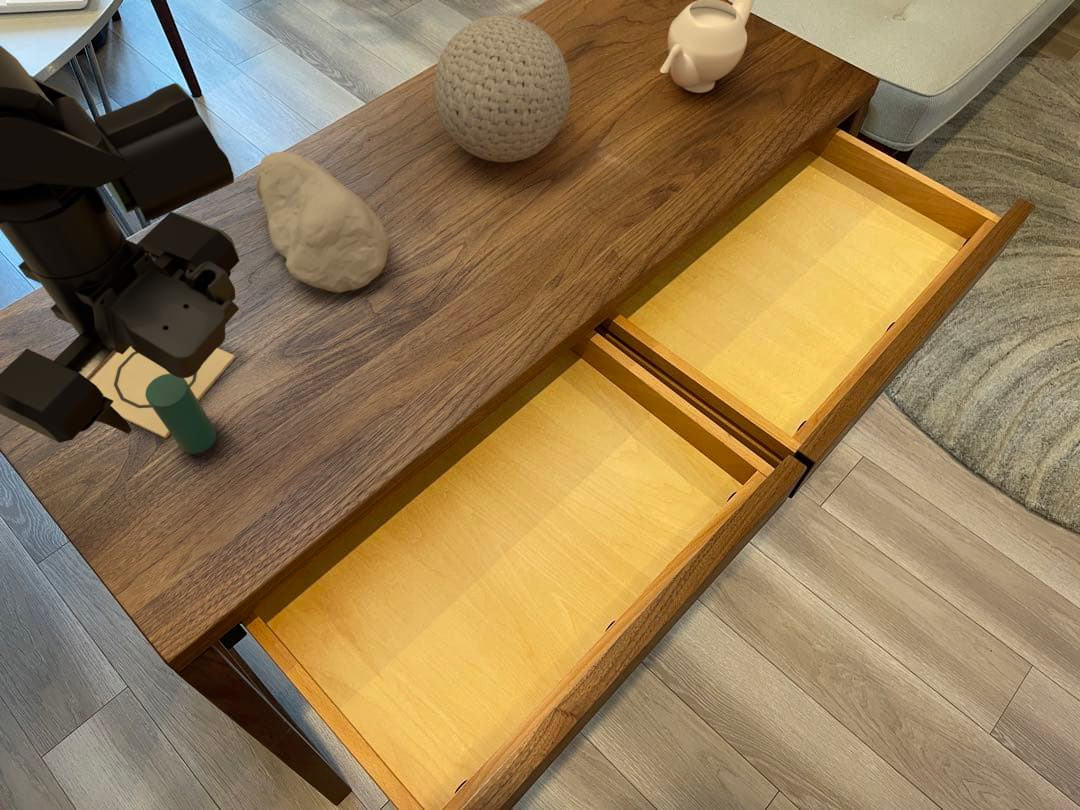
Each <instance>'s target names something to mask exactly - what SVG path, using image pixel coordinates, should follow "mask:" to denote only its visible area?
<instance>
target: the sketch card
mask: <svg viewBox="0 0 1080 810" xmlns="http://www.w3.org/2000/svg"><path fill="white" fill-rule="evenodd" d="M235 359H236V355H234V354H233V353H230V352H228V351H225V350H223V349H221V348H220V347H218V348H216V350H215V351H214V352H213V353H212V354H211V355H210V356H209V358H208V359H207V360H206V361H205V362H204V363H203V364H202V366H201V368H200V369H199V370H198V371H197V372H196V373H195V374H194V375H193V376H191V377H188V378H184V379H185V380H186V382H187V383H188V385H189V387H190V388H191V390H192V392H193V393H194V395H195V397H196V398H197V400H198V402H199V401H200V400H201V399H202V397H204V395H205V394H206V393H207V392H208V391H209V390H210V388H211V387H212V386H213V385H214V384H215V382H216V381H217V380H219V378H220V376H221V375H222V374H223V373H224V372H225V371H226V370H227V368H228V367H229V366H230V365H231V364H232V363H233V362H234V360H235ZM164 374H170V373H169V372H168V371H167V370H166V369H164V368H162V367H161V366H159V365H157V364H156V363H154V362H153V361H151V360H149V359H148V358H146V357H144V356H143V355H141V354H139V353H138V352H136V351H135V350H134V349H133V348H132V347H131V346H130V347H129V348H128V349H127V350H126V351H125V353H124V354H120V353H118V352H116V353H115V354H114V355H113V356H112V357H111V358H110V359H109V360H108V361H107V362H106V363H105V364H104V365H103V366H102V367H101V368H100V369H99V370H98V371H97V372H96V373H95V374H94V375H93V376H92V378H91V379H90V380H89V381H91V382H92V383H93V384H95V385H96V386H97V387H98V388H99V390H100V391H101V392H102V393H103V396H105V397H107V398H109V399H111V400H113V403H112V404H111V406H112V407H113V408H114V409H115V410H116V411H117V412H118V413H119V414H120V415H121V416H122V417H123V418H124V419H125V420H126V421H127V422H128V423H129V422H130V423H132V424H134V425H136V426H138V427H140V428H142V429H144V430H147V431H149V432H150V433H153V434H155V435H157V436H160V437H161V438H163V439H167V438H168V437H169V436H170V435H171V433H170V432H169V431H168V429H167V428H166V426H165V425H164V424H163V422H162V421H161V419H160V418H159V416H158V415H157V414H156V412H155V411H154V409H153V408H152V407H151V405H150V404H149V402H148V401H147V399H146V396H145V393H146V389H147V387H148V385H149V384H150V382H152V381H153V380H154V379H155V378H157V377H159V376H161V375H164Z"/></svg>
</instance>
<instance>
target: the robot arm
mask: <svg viewBox="0 0 1080 810" xmlns="http://www.w3.org/2000/svg"><path fill="white" fill-rule="evenodd" d="M234 183H235V176H234V171H233V169H232V166H231V162H230V159H229V158H228V156H227V155H226V153H225V152H224V151H223V150H222V148H220V146H219V144H218V143H217V140H216V139H215V138H214V136H213V134H212V131H210V129H209V127H208V125H207V124H206V122H205V121H204V119H203V117H202V116H201V115H200V114H199V112H198V109H197V107H196V104H195V101H194V99H193V98H192V97H191V96H190V95H189V94H188V93H187V92H186V91H185V90H184V88H183V87H182V86H181V85H180V84H178V83H176V82H174V83H171V84H169V85H166V86H164V87H161V88H159V89H157V90H154V92H152V93H151V94H149V95H148V96H146V97H144V98H142V99H139V100H137V101H134V102H132V103H129V104H127V105H125V106H122V107H120V108H117V109H114V110H112V111H109V112H107V113H104V114H102V115H99V116H97V117H95V118H92V117H91V116H90V115H89V113H88V112H87V111H86V110H85V108H84V107H83V106H82V104H81V103H80V102H79V101H78V100H77V98H76V97H75V96H73V95H71V94H69V93H67V92H66V91H63V90H61V89H59V88H57V87H55V86H53V85H51V84H49V83H46V82H45V81H43V80H40V79H38V78H36V77H34V76H32V75H30V74H29V73H28V71H27V70H26V69H25V67H24V66H23V65H22V63H20V62H19V60H18V59H17V58H16V57H15V56H14V55H13V54H11V53H10V52H9V51H8V50H7V49H6V48H5V47H3V46H2V45H0V231H1V233H3V235H4V237H5V238H6V239H7V240H8V242H9V243H10V244H11V246H12V247H13V248H14V250H15V251H16V252H17V254H18V255H19V256H20V258H21V259H22V260H23V261H22V262H21V263H20V264H18V266H17V267H18V269H19V270H20V271H21V272H22V274H23V275H24V276H25V278H27V279H29V280H32V281H33V282H36V283H38V284H40V285H41V286H42V287H43V289H44V290H45V291H46V292H47V294H48V295H49V297H50V298H51V299H52V301H53V302H54V304H53V305H52V306H51V307H50V310H51V312H52V314H54V316H55V317H56V318H57V319H58V320H61V321H63V322H65V323H67V324H70V325H71V326H72V327H73V330H75V331H76V332H77V334H78V336H77V337H76V338H75V339H74V340H72V342H70V344H68V345H67V347H66V348H64V349H63V351H61V353H59V355H57V357H56V358H55V359H54V360H53V359H51V358H49V357H46V356H44V355H42V354H40V353H37V352H36V351H33V350H31V349H30V348H26V349H25V350H24V351H22V352H21V353H20V354H19V355H18V356H17V357H16V358H15V359H14V360H13V361H11V363H10V364H9V365H8V366H7V367H6V368H5V369H3V370H2V372H1V373H0V415H1V416H3V417H6V418H7V419H10V420H12V421H14V422H16V423H18V424H20V425H22V426H23V427H25V428H28V429H30V430H32V431H35V432H36V433H39V434H40V435H42V436H45V437H47V438H49V439H51V440H52V441H55V442H57V443H59V444H62V443H66V442H69V441H73V440H74V439H75V438H76V436H78V435H79V434H80V432H81V433H82V432H86V431H88V430H89V429H90V428H91V427H92V426H93V425H94V424H95V423H96V422H98V423H102V424H105V425H107V426H110V427H111V428H113V429H116V430H118V431H119V432H122V433H125V434H128V435H129V434H131V432H132V431H133V429H132V427H131V426H130V424H129V421H127V420H125V419H124V418H123V417H122V416H121V415H120V414H119V413H118V412H117V411H116V410H115V409H114V408H113V407H112V406H111V404H112V403H113V400H111V399H109V398H107V397H105V396H103V393H102V392H101V391H100V390H99V388H98V387H97V386H96V385H95V384H93V383H92V382H91V381H90V380H91V379H92V378H93V377H94V376H95V375H96V374H97V373H98V372H99V371H100V370H101V369H102V368H103V366H104V365H105V364H106V363H107V362H108V361H109V360H110V359H111V358H112V357H113V356H114V355H115V354H116V353H117V352H118V353H120V354H124V353H125V351H126V350H127V349H128V348H129V347H130V346H131V347H132V348H133V349H134V350H135V351H136V352H138V353H139V354H141V355H143V356H144V357H146V358H148V359H149V360H151V361H153V362H154V363H156V364H157V365H159V366H161V367H162V368H164V369H166V370H167V371H168V372H169V373H170V374H172V375H174V376H176V377H179V378H188V377H191V376H193V375H194V374H195V373H196V372H197V371H198V370H199V369H200V368H201V366H202V364H203V363H204V362H205V361H206V360H207V359H208V358H209V356H210V355H211V354H212V353H213V352H214V351H215V350H216V348H220V347H221V345H222V344H223V343H224V341H226V340H225V339H226V325H227V324H228V322H230V320H231V319H233V317H234V316H235V315H236V313H237V312H238V311H239V310H240V308H239V307H238V305H237V304H236V303H235V302H234V300H235V299H236V287H235V286H234V284H233V282H232V281H231V278H230V277H231V273H232V272H231V271H232V270H233V269H234V268H235V267H236V266H237V264H238V263H239V262H240V257H239V253H238V250H237V247H236V246H235V242H234V241H233V238H232V237H231V236H230V235H229V234H227V233H226V232H225V231H224V230H223V229H220V228H218V227H216V226H213V225H211V224H209V223H205V222H203V221H200V220H198V219H195V218H193V217H190V216H188V215H185V214H183V213H181V212H180V213H179V212H174V211H176V210H178V209H181V208H183V207H185V206H187V205H188V204H191V203H193V202H195V201H197V200H200V199H202V198H203V197H206V196H208V195H211V194H213V193H215V192H217V191H218V190H220V189H223V188H225V187H227V186H229V185H232V184H234ZM103 186H106V187H107V189H108V191H109V192H110V193H111V195H112V197H113V198H114V199H115V201H116V202H117V204H118V205H119V206H120V208H121V209H122V210H123V211H124V213H126V214H128V213H130V212H133V211H135V210H137V212H138V213H139V215H140V217H141V218H142V219H143V221H144V222H145V223H148V222H149V221H154V220H156V219H158V218H159V219H160V218H161V217H163V216H165V215H166V216H165V217H164V218H162V219H161V221H159V222H158V223H157V224H156V225H155V226H154V227H153V228H152V229H151V230H150V231H149V232H147V234H145V236H143V237H142V238H141V239H140V240H139V241H138V242H137V243H135V242H133V241H131V240H128V239H127V238H126V236H125V234H124V233H123V230H122V229H121V227H120V226H119V224H118V223H117V221H116V219H115V217H114V215H113V213H112V212H111V210H110V209H109V206H108V205H107V203H106V201H105V200H104V198H103V196H102V194H101V193H100V191H99V189H98V188H100V187H103Z"/></svg>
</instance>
